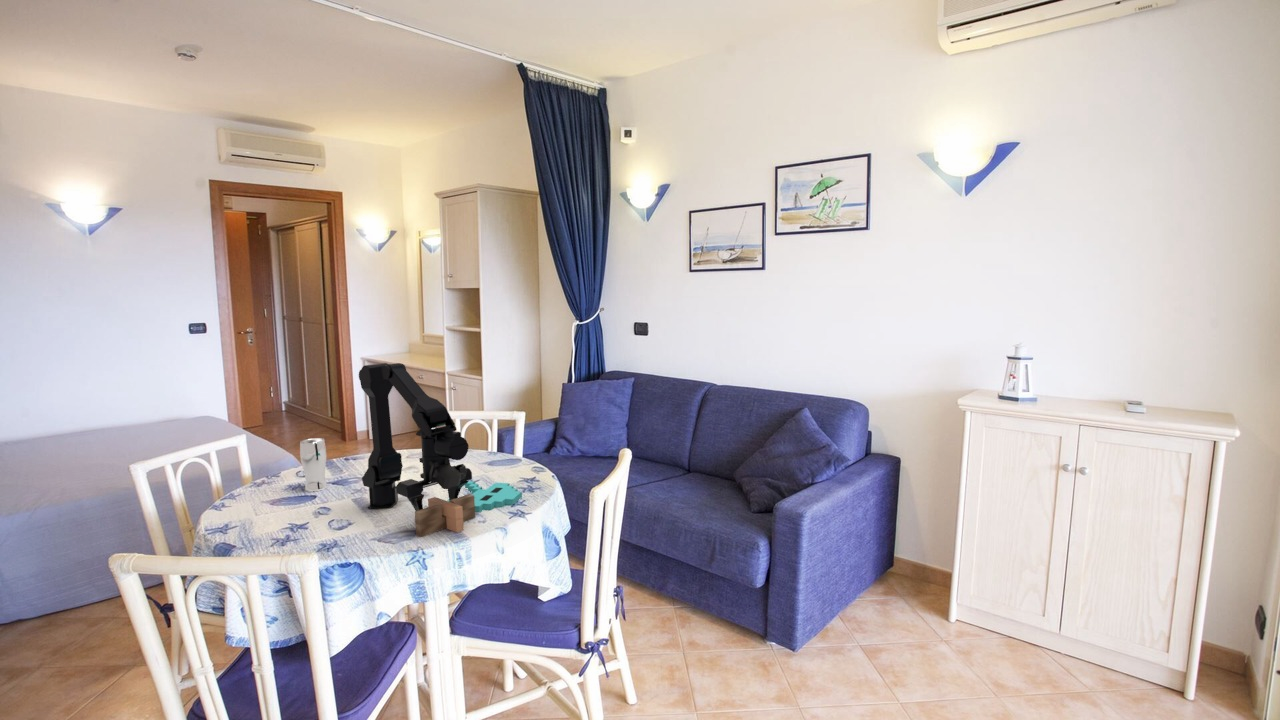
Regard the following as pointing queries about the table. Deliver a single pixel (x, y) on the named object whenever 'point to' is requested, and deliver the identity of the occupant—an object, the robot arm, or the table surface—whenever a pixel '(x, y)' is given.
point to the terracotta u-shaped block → (450, 513)
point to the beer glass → (314, 463)
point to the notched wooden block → (435, 521)
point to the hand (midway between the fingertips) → (437, 513)
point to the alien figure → (493, 495)
